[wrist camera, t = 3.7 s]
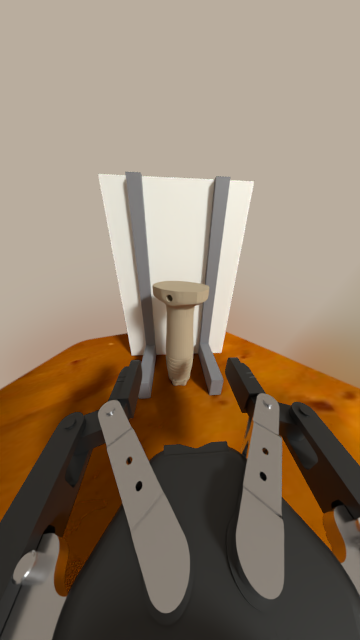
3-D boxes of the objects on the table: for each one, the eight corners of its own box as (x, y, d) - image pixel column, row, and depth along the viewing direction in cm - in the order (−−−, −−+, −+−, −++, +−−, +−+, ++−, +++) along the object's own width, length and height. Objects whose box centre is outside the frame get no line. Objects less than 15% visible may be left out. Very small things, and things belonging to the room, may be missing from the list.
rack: (115, 399, 19) (18, 90, 7) (133, 350, 28) (103, 180, 17) (241, 393, 20) (333, 115, 8) (219, 348, 29) (247, 186, 18)
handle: (170, 362, 25) (167, 279, 19) (203, 375, 23) (214, 284, 16) (153, 382, 22) (144, 286, 15) (191, 400, 19) (199, 295, 12)
